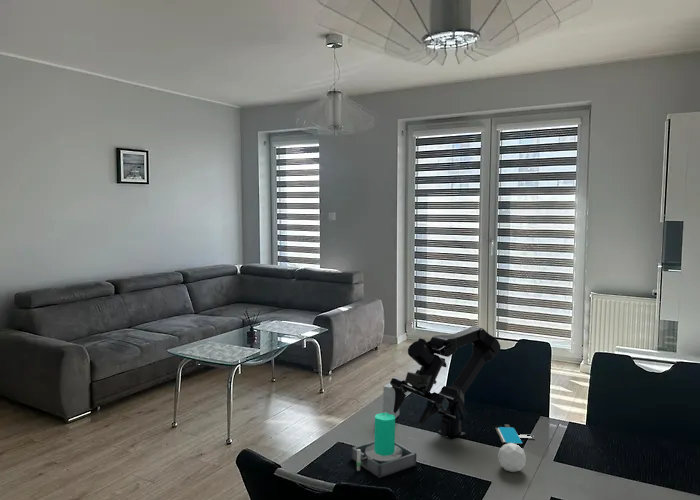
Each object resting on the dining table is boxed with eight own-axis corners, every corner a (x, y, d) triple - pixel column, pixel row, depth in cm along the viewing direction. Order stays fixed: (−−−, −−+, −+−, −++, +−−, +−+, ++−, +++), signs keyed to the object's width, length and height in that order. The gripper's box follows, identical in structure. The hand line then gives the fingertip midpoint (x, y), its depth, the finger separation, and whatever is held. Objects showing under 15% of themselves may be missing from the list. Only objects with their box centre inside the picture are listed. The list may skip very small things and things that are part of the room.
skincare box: (388, 413, 196) (389, 380, 195) (400, 415, 194) (400, 382, 193) (381, 419, 190) (382, 385, 189) (393, 421, 188) (394, 388, 187)
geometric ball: (516, 482, 153) (522, 469, 147) (490, 465, 156) (495, 452, 151) (527, 462, 157) (533, 448, 152) (502, 446, 161) (507, 432, 156)
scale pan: (386, 443, 166) (386, 440, 166) (410, 457, 157) (410, 453, 157) (350, 454, 158) (350, 450, 158) (373, 469, 149) (373, 465, 149)
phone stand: (542, 453, 166) (542, 448, 166) (503, 451, 167) (503, 446, 167) (526, 426, 186) (526, 422, 186) (491, 425, 187) (491, 421, 187)
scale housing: (387, 447, 168) (387, 429, 167) (416, 465, 157) (416, 445, 156) (343, 461, 159) (343, 441, 158) (371, 480, 147) (371, 459, 147)
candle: (386, 457, 154) (387, 417, 153) (370, 451, 158) (370, 411, 157) (398, 450, 159) (399, 411, 158) (382, 444, 163) (382, 406, 162)
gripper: (394, 352, 168) (371, 397, 163) (446, 371, 157) (424, 420, 151) (407, 367, 176) (385, 410, 171) (457, 386, 165) (436, 433, 159)
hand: (406, 418), depth 163 cm, fingers open, 9 cm apart
